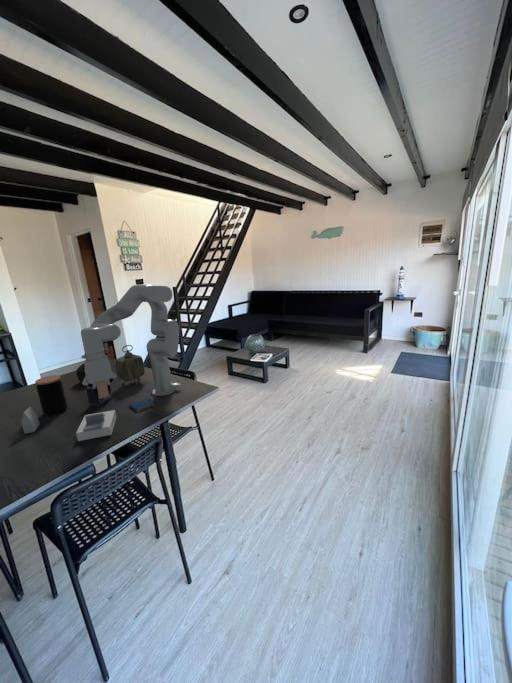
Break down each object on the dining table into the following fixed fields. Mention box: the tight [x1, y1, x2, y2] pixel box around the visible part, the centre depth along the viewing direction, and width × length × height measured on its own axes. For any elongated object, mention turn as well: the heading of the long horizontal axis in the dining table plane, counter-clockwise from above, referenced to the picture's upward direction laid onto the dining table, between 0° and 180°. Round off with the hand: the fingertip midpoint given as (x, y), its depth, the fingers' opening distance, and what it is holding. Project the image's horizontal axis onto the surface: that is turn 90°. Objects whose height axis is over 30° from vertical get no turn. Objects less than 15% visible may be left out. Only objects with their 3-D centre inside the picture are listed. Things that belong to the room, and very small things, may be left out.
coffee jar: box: [34, 374, 68, 417], centre depth 149 cm, size 11×11×18 cm
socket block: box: [75, 409, 117, 442], centre depth 132 cm, size 13×16×4 cm
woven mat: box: [128, 397, 156, 413], centre depth 153 cm, size 10×11×2 cm
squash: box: [75, 362, 88, 383], centre depth 189 cm, size 14×15×15 cm
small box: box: [85, 386, 113, 408], centre depth 158 cm, size 11×6×10 cm, turn 168°
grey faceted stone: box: [21, 406, 41, 435], centre depth 134 cm, size 4×7×10 cm, turn 18°
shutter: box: [83, 412, 105, 432], centre depth 127 cm, size 7×7×4 cm
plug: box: [96, 380, 109, 399], centre depth 131 cm, size 4×4×10 cm
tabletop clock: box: [115, 344, 146, 386], centre depth 180 cm, size 14×9×25 cm, turn 144°
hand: (102, 394), depth 132 cm, fingers closed on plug, 4 cm apart
